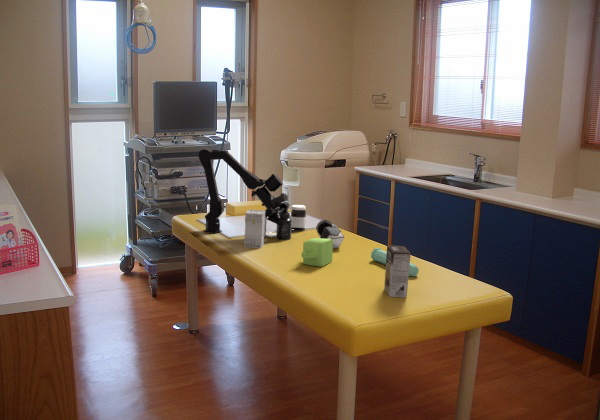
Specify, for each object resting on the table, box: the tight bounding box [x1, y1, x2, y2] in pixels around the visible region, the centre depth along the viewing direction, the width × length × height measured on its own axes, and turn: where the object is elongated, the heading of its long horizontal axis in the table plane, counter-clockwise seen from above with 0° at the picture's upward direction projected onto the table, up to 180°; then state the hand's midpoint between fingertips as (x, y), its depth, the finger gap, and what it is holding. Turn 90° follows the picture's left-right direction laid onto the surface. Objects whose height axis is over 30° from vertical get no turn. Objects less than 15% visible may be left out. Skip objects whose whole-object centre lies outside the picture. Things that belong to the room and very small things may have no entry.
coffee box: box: [383, 244, 411, 298], centre depth 218 cm, size 9×6×16 cm
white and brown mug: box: [290, 204, 307, 231], centre depth 309 cm, size 12×11×12 cm
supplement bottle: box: [275, 212, 292, 241], centre depth 289 cm, size 7×7×12 cm
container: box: [370, 247, 420, 277], centre depth 249 cm, size 6×6×25 cm
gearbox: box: [300, 237, 334, 267], centre depth 253 cm, size 18×10×10 cm, turn 154°
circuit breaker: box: [243, 209, 268, 249], centre depth 277 cm, size 8×14×15 cm, turn 174°
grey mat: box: [264, 231, 276, 239], centre depth 295 cm, size 9×9×1 cm
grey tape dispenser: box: [315, 219, 345, 249], centre depth 283 cm, size 25×10×10 cm, turn 10°
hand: (286, 224), depth 288 cm, fingers open, 8 cm apart
